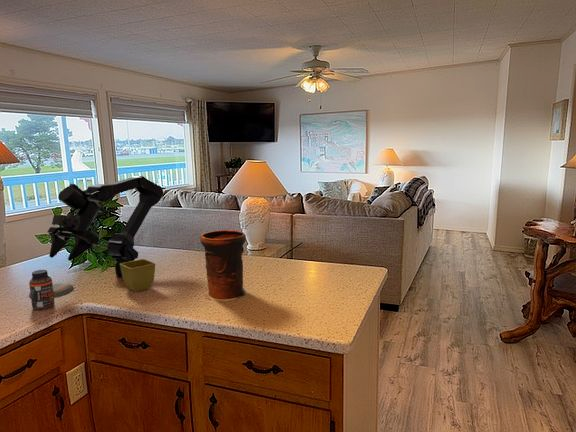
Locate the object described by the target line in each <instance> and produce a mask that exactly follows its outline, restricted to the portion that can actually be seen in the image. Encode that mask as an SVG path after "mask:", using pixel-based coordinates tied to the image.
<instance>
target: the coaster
mask: <svg viewBox="0 0 576 432" xmlns="http://www.w3.org/2000/svg"><path fill="white" fill-rule="evenodd" d="M52 285H53V292H54V298H57V297H61V296H65V295H67V294H69V293H71V292H72V291H74V285H73V284H70V283H64V282H63V283H62V282H61V283H52ZM28 295H29V296H28V297H29V298H31V293H30V292H28Z"/></svg>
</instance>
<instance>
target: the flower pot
mask: <svg viewBox="0 0 576 432" xmlns="http://www.w3.org/2000/svg"><path fill="white" fill-rule="evenodd" d="M120 267H121V272H122V276H123V277H122V279H123V281H124V283H125V285H126V287H127V288H128V289H130V290H131V291H133V292H136V293H137V292H140V291H143V290H148V289H150V288H151V286H152V285H153V282H154V279H155V272H156V263H155V262H153V261H151V260H148V259H146V258H141V259H135V260H134V261H130V262H125V263H121V264H120Z"/></svg>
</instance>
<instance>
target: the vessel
mask: <svg viewBox="0 0 576 432" xmlns="http://www.w3.org/2000/svg"><path fill="white" fill-rule="evenodd" d="M199 239H200V240H199V242H200V244H201V245H202V246H203V247H204V252H205V253H204V256H205V258H204V259H205V270H206V279H207V288H208V289H207V290H208V291H207V292H206V293H205V296H206V298H207V300H212V301H214V302H228V301H234V300H236V299H238V298H240V297H244V296H245V295H246V293H247V291H246V290H245V287H244V274H243V272H244V263H243V262H244V260H243V253H244V250H245V249H244V244H245V242H246V239H247V237H246V234H245V233H244V232H243V231H239V230H238V231H237V230H234V229H233V230H232V229H220V230H213V231H206V232H203V233H202V234H200V236H199Z"/></svg>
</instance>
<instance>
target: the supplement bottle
mask: <svg viewBox="0 0 576 432" xmlns="http://www.w3.org/2000/svg"><path fill="white" fill-rule="evenodd" d="M28 284H29V293H31V297H30V299H31V308H32V309H33V310H35V311H42V310H47V309H51V308H53V307H54V306H55V297H54V292H53V285H52V284H53V278H52V277H51V276H49V275H48V270H47V269H38V270H37V269H36V270H34V271H32V272H31V279H30V280H29V283H28Z"/></svg>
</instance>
